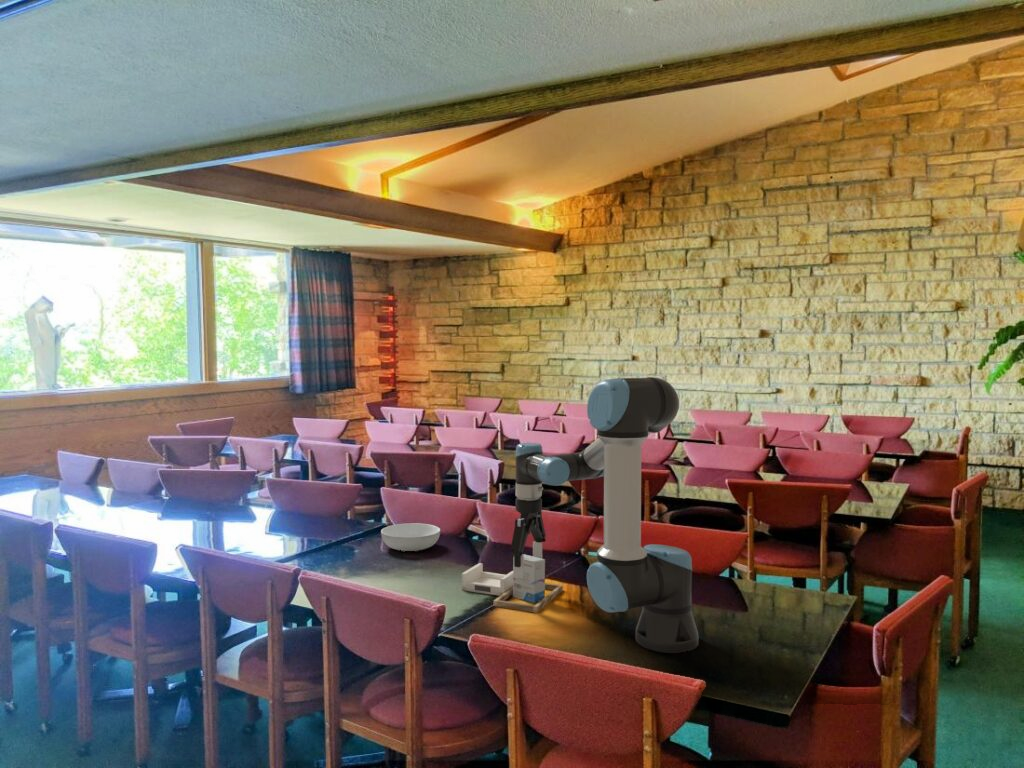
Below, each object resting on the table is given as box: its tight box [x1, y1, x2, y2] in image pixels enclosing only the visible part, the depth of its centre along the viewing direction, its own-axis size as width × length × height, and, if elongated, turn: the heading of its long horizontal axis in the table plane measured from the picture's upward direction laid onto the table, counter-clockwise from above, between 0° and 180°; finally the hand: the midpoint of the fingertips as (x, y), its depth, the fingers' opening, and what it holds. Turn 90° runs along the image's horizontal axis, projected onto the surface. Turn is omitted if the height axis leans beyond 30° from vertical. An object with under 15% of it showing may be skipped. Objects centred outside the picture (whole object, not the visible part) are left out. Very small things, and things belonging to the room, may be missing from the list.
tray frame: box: [492, 582, 564, 614], centre depth 215 cm, size 20×13×2 cm, turn 156°
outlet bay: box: [461, 562, 513, 597], centre depth 224 cm, size 12×14×5 cm
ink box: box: [512, 553, 546, 604], centre depth 214 cm, size 9×5×12 cm, turn 47°
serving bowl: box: [380, 522, 441, 552], centre depth 267 cm, size 21×21×7 cm
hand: (528, 570), depth 214 cm, fingers open, 13 cm apart
